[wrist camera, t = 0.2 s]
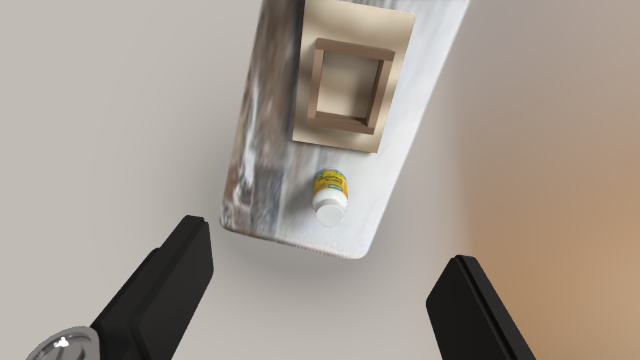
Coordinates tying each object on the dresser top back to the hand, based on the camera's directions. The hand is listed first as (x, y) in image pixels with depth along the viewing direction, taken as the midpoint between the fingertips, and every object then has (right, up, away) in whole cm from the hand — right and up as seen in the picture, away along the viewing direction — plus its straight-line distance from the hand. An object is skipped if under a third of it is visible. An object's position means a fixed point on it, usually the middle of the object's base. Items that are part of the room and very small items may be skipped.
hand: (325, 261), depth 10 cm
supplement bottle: (+2, +3, +34) cm, 34 cm away
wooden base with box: (+3, +17, +25) cm, 31 cm away
